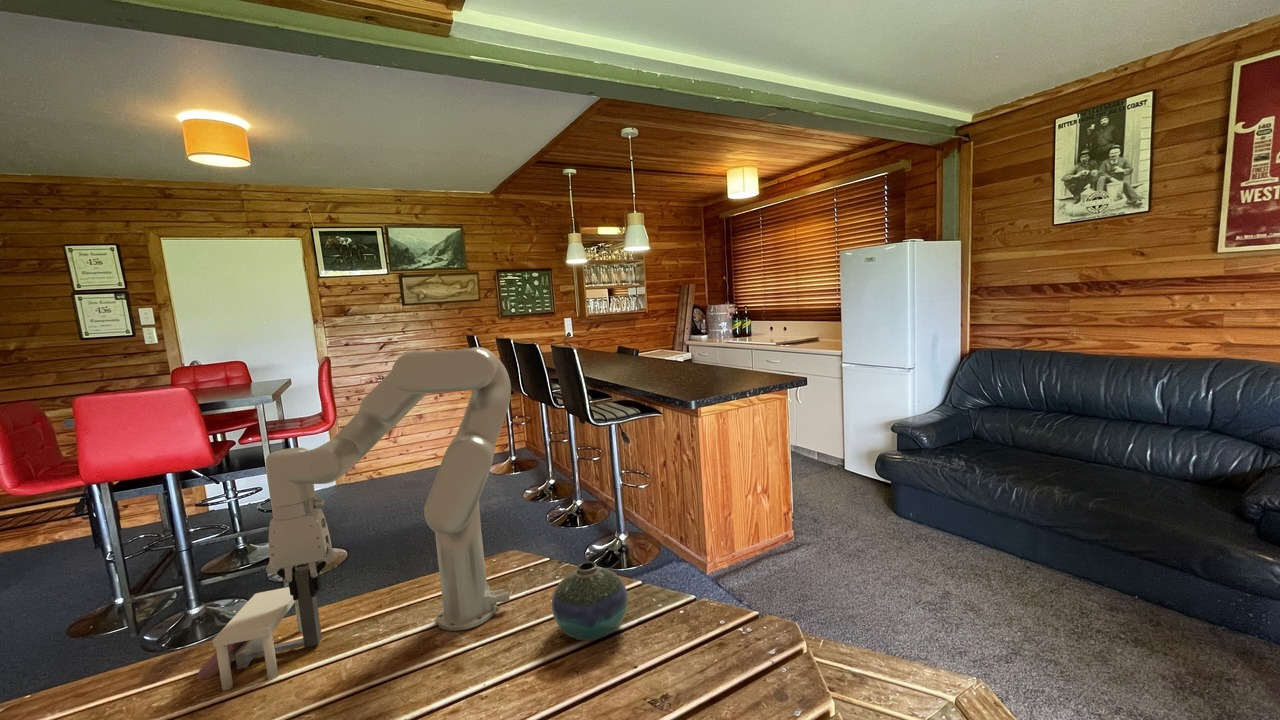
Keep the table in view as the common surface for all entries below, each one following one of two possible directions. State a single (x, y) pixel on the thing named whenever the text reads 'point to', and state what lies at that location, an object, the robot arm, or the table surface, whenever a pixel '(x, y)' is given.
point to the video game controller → (212, 664)
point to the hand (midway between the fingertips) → (306, 594)
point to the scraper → (308, 623)
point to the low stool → (255, 629)
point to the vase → (589, 602)
